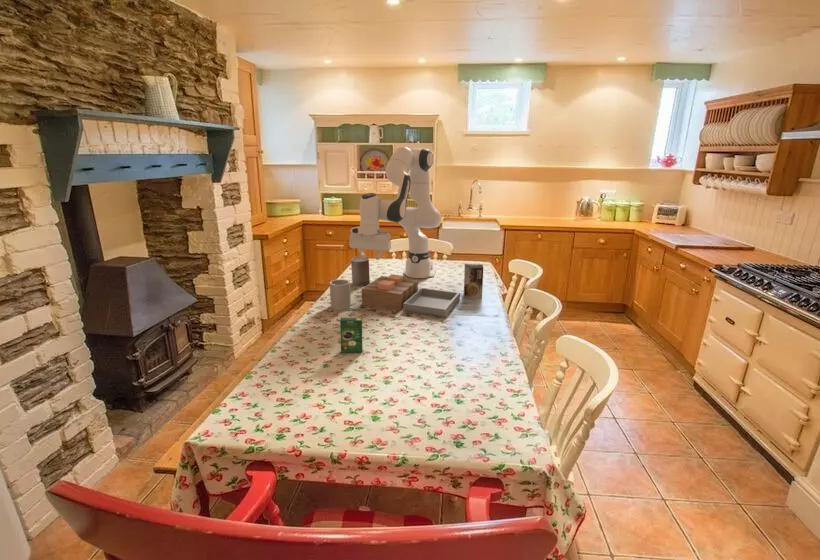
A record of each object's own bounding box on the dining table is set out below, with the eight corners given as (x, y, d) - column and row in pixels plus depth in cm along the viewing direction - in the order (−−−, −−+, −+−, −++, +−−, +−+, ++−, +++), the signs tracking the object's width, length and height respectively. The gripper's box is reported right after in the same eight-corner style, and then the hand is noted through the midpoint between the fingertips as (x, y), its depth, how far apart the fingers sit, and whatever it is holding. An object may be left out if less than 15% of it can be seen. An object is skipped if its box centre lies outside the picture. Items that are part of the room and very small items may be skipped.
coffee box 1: (363, 349, 157) (362, 316, 153) (363, 353, 155) (362, 319, 151) (341, 349, 157) (339, 317, 153) (340, 353, 154) (339, 320, 150)
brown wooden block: (381, 290, 221) (381, 275, 218) (417, 295, 214) (417, 280, 211) (362, 304, 201) (361, 288, 199) (400, 310, 194) (400, 294, 192)
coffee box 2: (481, 294, 215) (483, 264, 210) (482, 299, 209) (484, 267, 204) (463, 294, 216) (464, 263, 211) (463, 298, 210) (464, 267, 205)
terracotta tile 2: (391, 279, 213) (391, 274, 213) (402, 280, 211) (402, 275, 210) (386, 282, 208) (386, 277, 207) (397, 283, 206) (397, 279, 205)
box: (421, 295, 214) (421, 287, 213) (459, 300, 207) (459, 292, 206) (403, 311, 193) (403, 303, 192) (445, 318, 186) (445, 309, 185)
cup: (346, 310, 194) (345, 286, 190) (328, 309, 195) (326, 284, 192) (353, 303, 202) (352, 280, 199) (335, 302, 204) (334, 278, 200)
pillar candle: (371, 280, 237) (370, 254, 232) (368, 286, 227) (366, 259, 223) (354, 280, 238) (352, 254, 233) (350, 285, 228) (348, 258, 224)
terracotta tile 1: (383, 284, 204) (383, 279, 204) (394, 286, 202) (394, 281, 202) (377, 288, 199) (377, 283, 198) (389, 290, 197) (389, 285, 196)
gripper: (393, 230, 194) (393, 259, 199) (353, 226, 202) (354, 255, 206) (387, 232, 189) (387, 262, 193) (347, 229, 196) (348, 258, 200)
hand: (370, 258), depth 199 cm, fingers open, 6 cm apart
